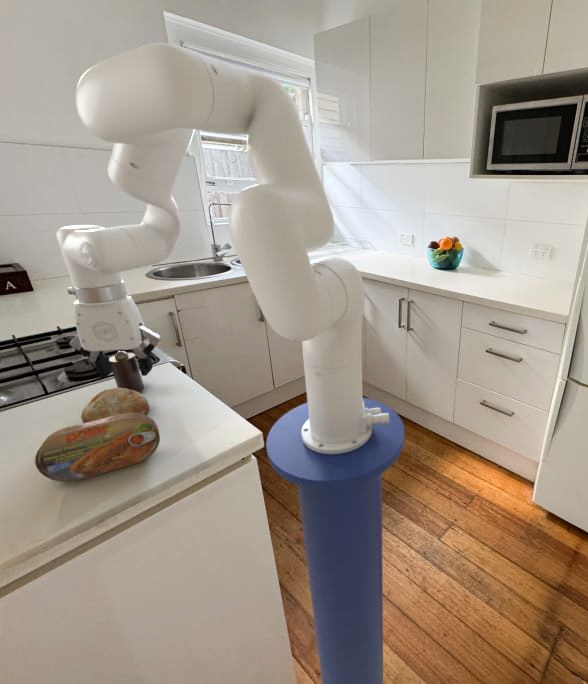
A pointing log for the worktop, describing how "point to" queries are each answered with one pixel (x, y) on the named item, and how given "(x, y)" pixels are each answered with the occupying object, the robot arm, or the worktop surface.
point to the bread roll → (114, 404)
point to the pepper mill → (126, 371)
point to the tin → (97, 447)
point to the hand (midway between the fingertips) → (127, 373)
